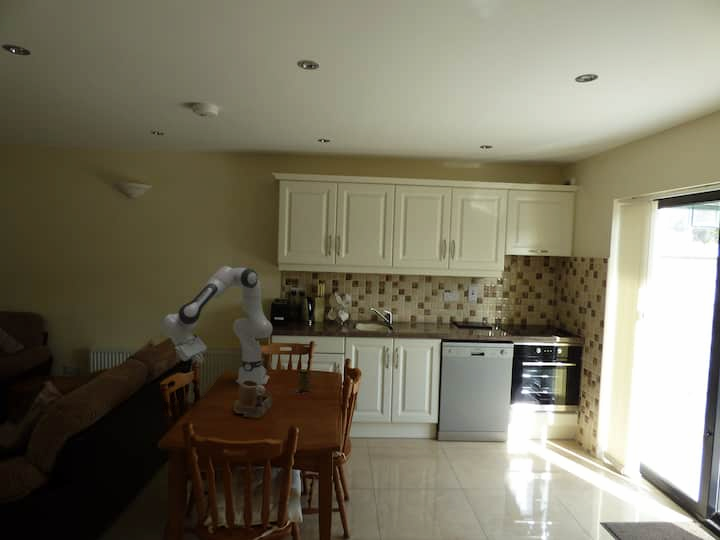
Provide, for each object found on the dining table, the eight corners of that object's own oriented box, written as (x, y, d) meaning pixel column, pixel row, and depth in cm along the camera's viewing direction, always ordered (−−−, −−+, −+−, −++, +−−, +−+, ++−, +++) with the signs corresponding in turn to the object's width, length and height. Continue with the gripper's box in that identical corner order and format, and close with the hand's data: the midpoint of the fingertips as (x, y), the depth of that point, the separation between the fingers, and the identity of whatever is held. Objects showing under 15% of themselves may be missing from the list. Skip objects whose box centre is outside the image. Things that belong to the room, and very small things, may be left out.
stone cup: (258, 415, 219) (258, 384, 219) (233, 416, 217) (233, 385, 216) (257, 404, 234) (258, 376, 233) (234, 405, 231) (235, 376, 231)
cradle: (257, 404, 234) (258, 375, 234) (274, 405, 233) (275, 376, 232) (243, 417, 215) (244, 386, 215) (262, 418, 214) (262, 387, 214)
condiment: (305, 388, 264) (306, 368, 263) (313, 392, 257) (313, 371, 257) (294, 390, 259) (295, 370, 259) (302, 394, 253) (303, 373, 252)
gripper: (177, 341, 218) (196, 362, 217) (198, 333, 238) (215, 353, 237) (169, 350, 218) (187, 371, 217) (190, 341, 239) (207, 361, 238)
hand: (202, 361), depth 227 cm, fingers closed
